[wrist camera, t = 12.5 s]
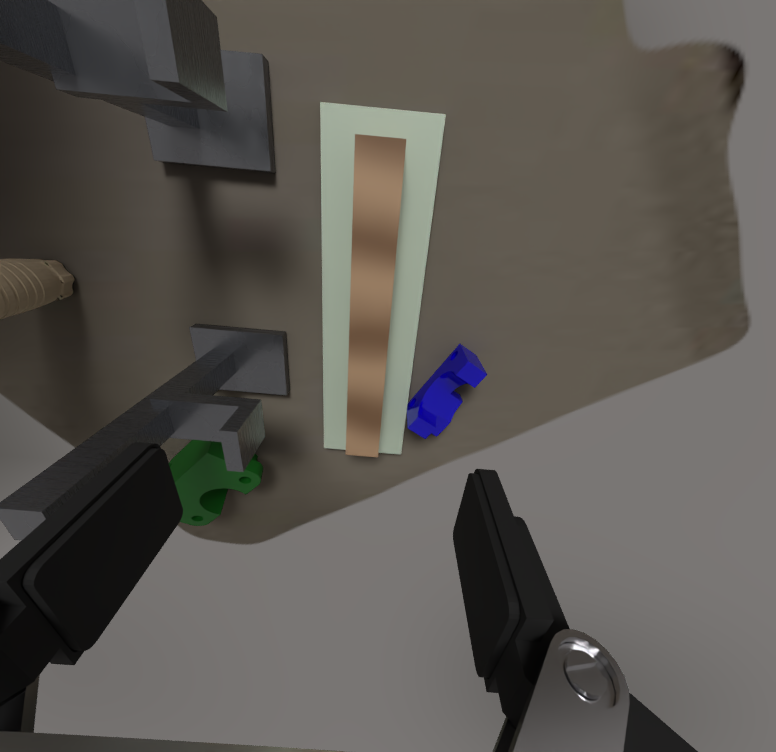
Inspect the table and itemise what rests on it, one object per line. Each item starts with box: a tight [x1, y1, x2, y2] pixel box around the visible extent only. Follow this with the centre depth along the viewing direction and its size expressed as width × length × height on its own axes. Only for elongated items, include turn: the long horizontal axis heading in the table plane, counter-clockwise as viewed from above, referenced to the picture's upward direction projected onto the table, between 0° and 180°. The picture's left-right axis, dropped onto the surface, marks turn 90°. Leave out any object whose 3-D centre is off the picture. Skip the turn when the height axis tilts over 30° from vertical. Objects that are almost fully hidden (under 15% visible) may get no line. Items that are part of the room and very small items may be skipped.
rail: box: [346, 134, 406, 457], centre depth 25 cm, size 24×3×3 cm, turn 175°
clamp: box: [169, 440, 263, 526], centre depth 33 cm, size 12×6×9 cm, turn 125°
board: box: [320, 102, 446, 454], centre depth 27 cm, size 28×8×1 cm, turn 175°
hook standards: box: [0, 0, 290, 540], centre depth 17 cm, size 24×9×18 cm, turn 175°
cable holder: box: [407, 344, 487, 439], centre depth 29 cm, size 8×4×4 cm, turn 145°
